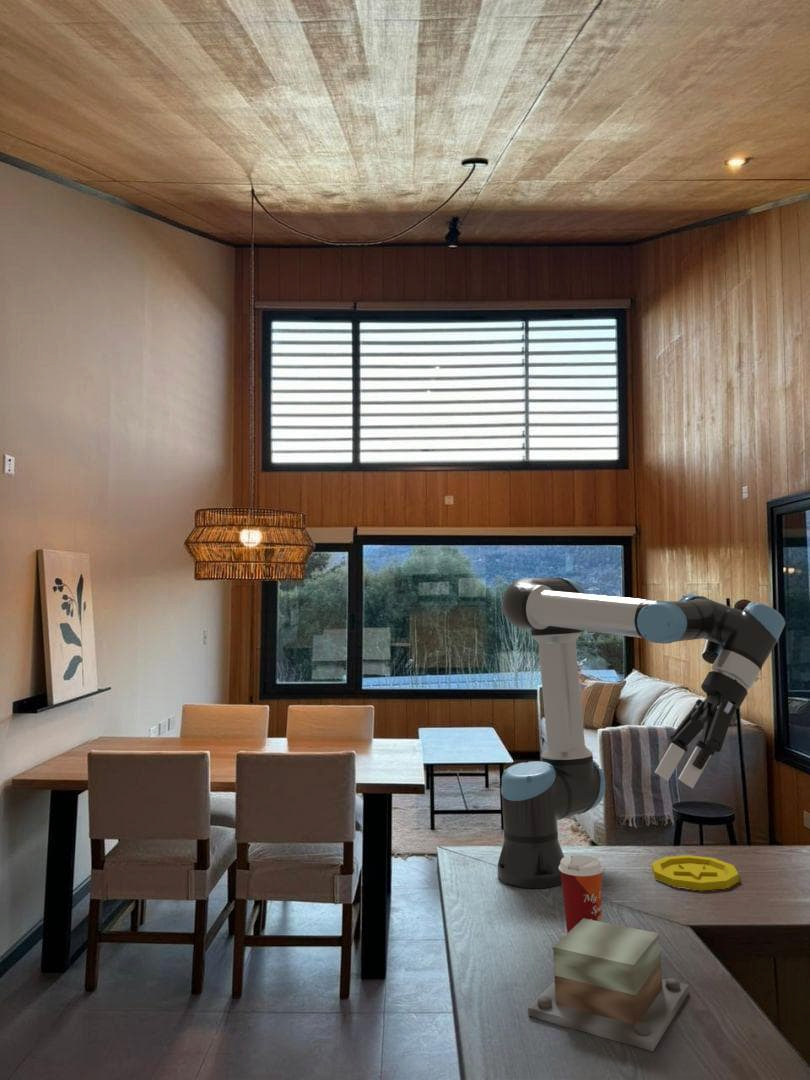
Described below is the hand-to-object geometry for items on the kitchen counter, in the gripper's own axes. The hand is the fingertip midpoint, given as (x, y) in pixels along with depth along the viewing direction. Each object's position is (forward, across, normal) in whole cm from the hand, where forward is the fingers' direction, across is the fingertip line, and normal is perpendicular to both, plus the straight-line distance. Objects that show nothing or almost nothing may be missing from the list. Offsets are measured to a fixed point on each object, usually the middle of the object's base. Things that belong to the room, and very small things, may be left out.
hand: (672, 780), depth 144 cm
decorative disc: (+12, +30, -23) cm, 40 cm away
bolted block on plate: (+35, -21, -2) cm, 41 cm away
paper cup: (+32, 0, -1) cm, 32 cm away
